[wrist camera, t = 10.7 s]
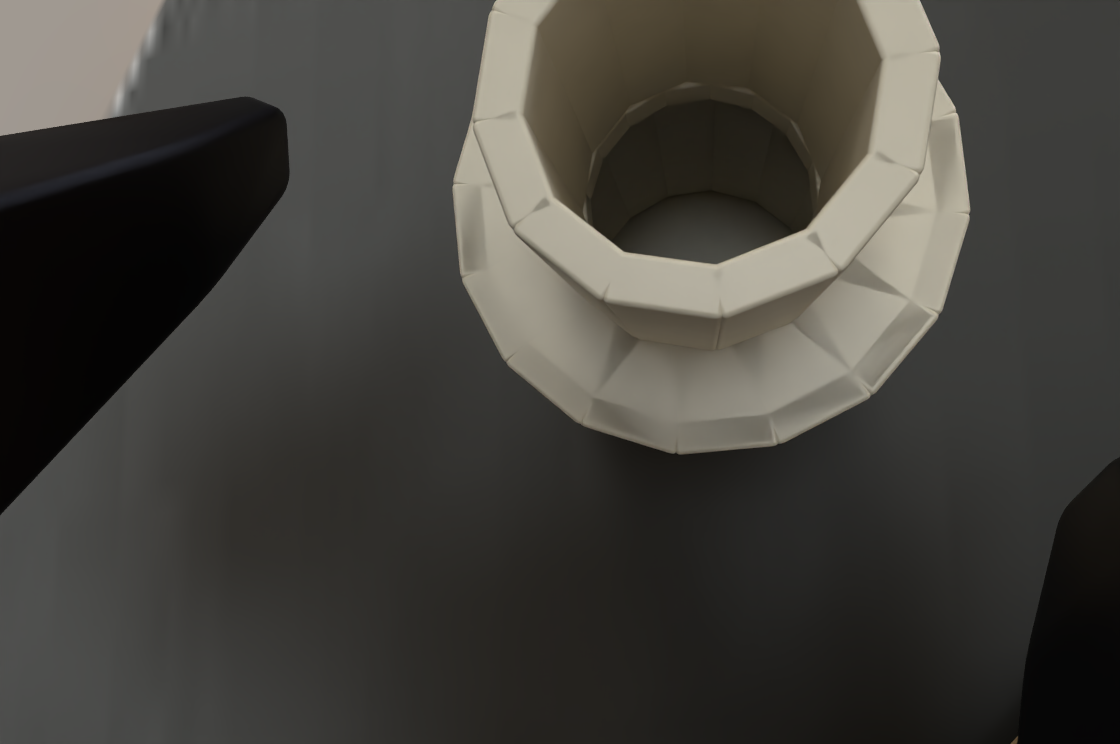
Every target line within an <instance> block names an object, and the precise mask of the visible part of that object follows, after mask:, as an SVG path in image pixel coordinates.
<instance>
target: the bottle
mask: <svg viewBox="0 0 1120 744" xmlns="http://www.w3.org/2000/svg"><path fill="white" fill-rule="evenodd" d="M492 10H493V11H491V12H490V14H489V17H488V23H487V29H486V35H485V41H484V47H483V53H482V59H481V66H480V72H479V78H478V84H477V90H476V96H475V102H474V108H473V114H472V119H471V122H470V125H469V129H468V132H467V135H466V139H465V142H464V145H463V149H462V152H461V156H460V159H459V162H458V166H457V169H456V172H455V176H454V179H453V183H454V184H455V185H453V188H452V190H453V201H454V212H455V223H456V234H457V244H458V255H459V266H460V275H461V277H462V278H463V279H462V281H463V284H464V286H465V288H466V290H467V292H468V294H469V296H470V298H471V300H472V301H473V303H474V305H475V307H476V309H477V311H478V313H479V315H480V317H481V319H482V320H483V322H484V324H485V326H486V328H487V330H488V332H489V334H490V336H491V338H492V340H493V341H494V343H495V345H496V347H497V349H498V351H499V353H500V355H501V357H502V359H503V360H504V361H505V362H507V365H508V366H509V367H510V368H511V369H512V370H514V371H515V372H516V373H517V374H518V375H520V376H521V377H522V378H523V379H524V380H526V381H527V382H528V383H529V384H530V385H532V386H533V387H534V388H535V389H537V390H538V391H539V392H540V393H541V394H543V395H544V396H545V397H546V398H547V399H549V400H550V401H551V402H552V403H553V404H555V405H556V406H557V407H558V408H559V409H561V410H562V411H563V412H564V413H565V414H567V415H568V416H569V417H570V418H571V419H573V420H574V421H575V422H576V423H579V424H581V425H583V426H584V427H586V428H590V429H593V430H596V431H599V432H603V433H606V434H609V435H612V436H616V437H619V438H622V439H625V440H628V441H632V442H635V443H638V444H641V445H645V446H648V447H651V448H654V449H658V450H661V451H664V452H667V453H671V454H674V453H677V454H680V455H682V454H693V453H704V452H715V451H726V450H737V449H748V448H759V447H770V446H775V445H777V444H778V443H779V444H783V443H785V442H787V441H789V440H791V439H793V438H794V437H796V436H798V435H800V434H802V433H804V432H806V431H808V430H810V429H812V428H814V427H816V426H818V425H819V424H821V423H823V422H825V421H827V420H829V419H831V418H833V417H835V416H837V415H839V414H841V413H843V412H844V411H846V410H848V409H850V408H852V407H854V406H856V405H858V404H860V403H862V402H864V401H866V400H867V399H869V398H870V395H873V394H875V393H876V392H877V391H878V390H879V389H880V387H881V386H882V385H883V384H884V383H885V381H886V380H887V379H888V378H889V377H890V375H891V374H892V373H893V372H894V371H895V369H896V368H897V367H898V366H899V365H900V363H901V362H902V361H903V360H904V359H905V357H906V356H907V355H908V354H909V353H910V351H911V350H912V349H913V348H914V347H915V346H916V344H917V343H918V342H919V341H920V340H921V338H922V337H923V336H924V335H925V334H926V332H927V331H928V330H929V329H930V328H931V326H932V325H933V324H934V323H935V322H936V320H937V319H938V316H939V315H938V314H940V313H941V312H942V310H943V306H944V303H945V300H946V296H947V293H948V290H949V286H950V283H951V280H952V276H953V273H954V270H955V266H956V263H957V260H958V256H959V253H960V250H961V246H962V243H963V240H964V236H965V233H966V230H967V226H968V223H969V220H970V218H969V215H968V214H969V213H970V202H969V194H968V187H967V179H966V171H965V163H964V155H963V147H962V139H961V131H960V124H959V116H958V114H957V113H955V112H956V108H955V106H954V105H953V103H952V101H951V100H950V98H949V96H948V95H947V93H946V91H945V90H944V88H943V87H942V85H941V83H940V82H939V80H938V75H939V69H940V62H941V56H940V53H939V44H938V41H937V39H936V37H935V34H934V32H933V30H932V27H931V25H930V23H929V21H928V18H927V16H926V14H925V11H924V9H923V7H922V4H921V2H920V0H497V1H496V2H495V3H494V5H493V8H492Z"/></svg>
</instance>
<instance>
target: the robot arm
mask: <svg viewBox="0 0 1120 744" xmlns="http://www.w3.org/2000/svg"><path fill="white" fill-rule="evenodd" d="M288 181H289V155H288V138H287V124H286V119H285V116H284V114H283V113H282V112H281V111H280V110H279V109H278V108H276V107H274V106H272V105H269V104H267V103H264V102H262V101H259V100H257V99H254V98H251V97H239V98H232V99H226V100H220V101H214V102H208V103H201V104H195V105H189V106H183V107H177V108H170V109H164V110H158V111H152V112H146V113H139V114H133V115H127V116H121V117H115V118H108V119H102V120H96V121H90V122H84V123H78V124H71V125H65V126H59V127H53V128H47V129H40V130H34V131H28V132H22V133H16V134H9V135H3V136H0V515H1V514H2V513H3V512H4V510H5V509H6V508H7V507H8V506H9V505H10V504H11V503H12V502H13V501H14V500H15V499H16V498H17V497H18V496H19V495H20V493H21V492H22V491H23V490H24V489H25V488H26V487H27V486H28V485H29V484H30V483H31V482H32V481H33V480H34V479H35V478H36V476H37V475H38V474H39V473H40V472H41V471H42V470H43V469H44V468H45V467H46V466H47V465H48V464H49V463H50V462H51V461H52V460H53V458H54V457H55V456H56V455H57V454H58V453H59V452H60V451H61V450H62V449H63V448H64V447H65V446H66V445H67V444H68V443H69V441H70V440H71V439H72V438H73V437H74V436H75V435H76V434H77V433H78V432H79V431H80V430H81V429H82V428H83V427H84V426H85V424H86V423H87V422H88V421H89V420H90V419H91V418H92V417H93V416H94V415H95V414H96V413H97V412H98V411H99V410H100V409H101V407H102V406H103V405H104V404H105V403H106V402H107V401H108V400H109V399H110V398H111V397H112V396H113V395H114V394H115V393H116V392H117V390H118V389H119V388H120V387H121V386H122V385H123V384H124V383H125V382H126V381H127V380H128V379H129V378H130V377H131V376H132V375H133V374H134V372H135V371H136V370H137V369H138V368H139V367H140V366H141V365H142V364H143V363H144V362H145V361H146V360H147V359H148V358H149V357H150V355H151V354H152V353H153V352H154V351H155V350H156V349H157V348H158V347H159V346H160V345H161V344H162V343H163V342H164V341H165V340H166V338H167V337H168V336H169V335H170V334H171V333H172V332H173V331H174V330H175V329H176V328H177V327H178V326H179V325H180V324H181V323H182V321H183V320H184V319H185V318H186V317H187V316H188V315H189V314H190V313H191V312H192V311H193V310H194V309H195V308H196V307H197V306H198V304H199V303H200V302H201V301H202V300H203V299H204V298H205V297H206V295H207V294H208V293H209V292H210V291H211V290H212V288H213V287H214V286H215V285H216V284H217V282H218V281H219V280H220V279H221V277H222V276H223V275H224V273H225V272H226V271H227V269H228V268H229V267H230V265H231V264H232V263H233V261H234V260H235V259H236V257H237V256H238V255H239V253H240V252H241V251H242V249H243V248H244V247H245V245H246V244H247V243H248V241H249V240H250V239H251V237H252V236H253V234H254V233H255V232H256V230H257V229H258V228H259V226H260V225H261V224H262V222H263V221H264V220H265V218H266V217H267V216H268V214H269V213H270V212H271V210H272V209H273V208H274V206H275V205H276V204H277V202H278V201H279V200H280V198H281V197H282V195H283V194H284V192H285V190H286V188H287V184H288ZM1017 744H1120V457H1119V458H1117V459H1115V460H1114V461H1112V462H1111V463H1110V464H1109V465H1108V466H1107V467H1106V468H1105V469H1104V470H1103V471H1102V472H1101V473H1100V474H1099V475H1098V476H1097V477H1096V478H1095V479H1093V480H1092V481H1091V482H1090V483H1089V484H1088V485H1087V486H1086V487H1085V488H1084V489H1083V490H1082V491H1081V492H1080V493H1079V494H1078V495H1077V496H1076V497H1075V498H1074V499H1073V500H1072V501H1071V502H1070V504H1069V505H1068V506H1067V507H1066V509H1065V510H1064V512H1063V514H1062V516H1061V518H1060V520H1059V523H1058V526H1057V529H1056V534H1055V538H1054V542H1053V546H1052V550H1051V555H1050V559H1049V563H1048V567H1047V571H1046V576H1045V580H1044V584H1043V588H1042V592H1041V596H1040V601H1039V605H1038V609H1037V613H1036V617H1035V622H1034V626H1033V630H1032V634H1031V638H1030V643H1029V648H1028V653H1027V658H1026V664H1025V672H1024V680H1023V689H1022V699H1021V709H1020V719H1019V730H1018V740H1017Z"/></svg>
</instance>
